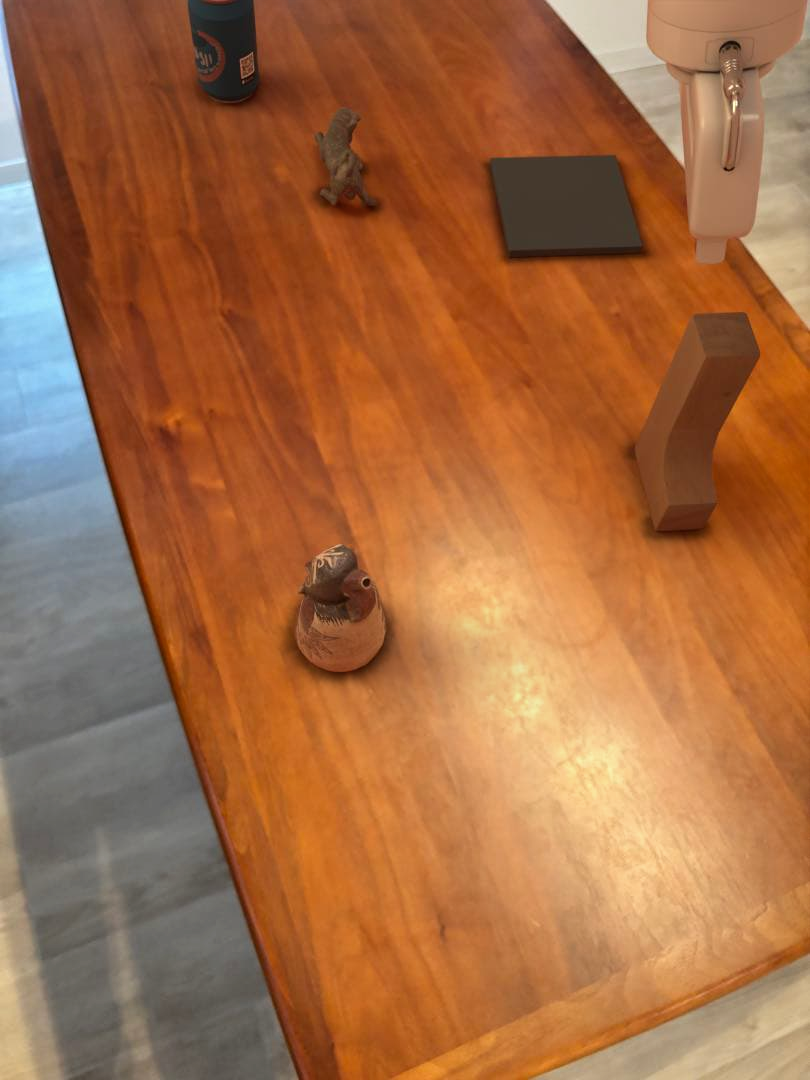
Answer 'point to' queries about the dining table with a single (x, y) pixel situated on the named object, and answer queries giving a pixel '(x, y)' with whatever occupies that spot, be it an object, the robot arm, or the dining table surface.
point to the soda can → (225, 48)
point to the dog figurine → (342, 159)
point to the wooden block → (693, 418)
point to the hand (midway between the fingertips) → (705, 214)
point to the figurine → (339, 612)
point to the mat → (564, 206)
